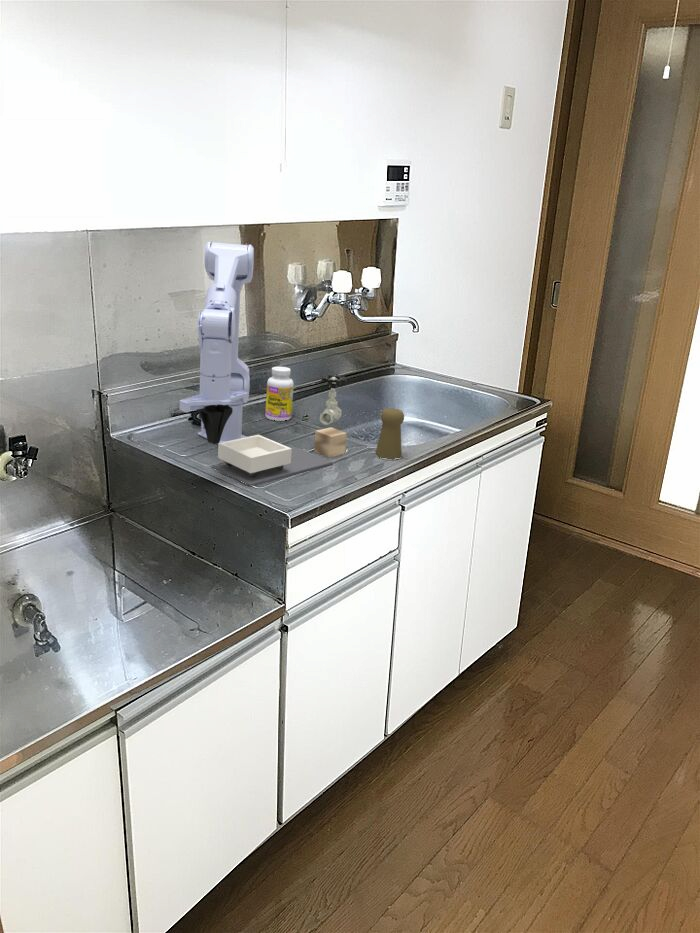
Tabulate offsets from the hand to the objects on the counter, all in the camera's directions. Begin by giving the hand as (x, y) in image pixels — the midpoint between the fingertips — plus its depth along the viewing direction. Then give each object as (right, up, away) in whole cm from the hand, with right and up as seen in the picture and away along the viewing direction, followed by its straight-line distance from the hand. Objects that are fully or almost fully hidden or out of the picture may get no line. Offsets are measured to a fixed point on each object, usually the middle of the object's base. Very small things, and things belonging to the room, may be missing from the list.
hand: (213, 442), depth 151 cm
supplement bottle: (+8, +7, +47) cm, 49 cm away
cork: (+35, -2, +27) cm, 44 cm away
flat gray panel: (+10, -5, +14) cm, 18 cm away
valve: (+21, +6, +47) cm, 52 cm away
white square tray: (+7, -6, +10) cm, 13 cm away
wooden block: (+22, -2, +26) cm, 34 cm away
